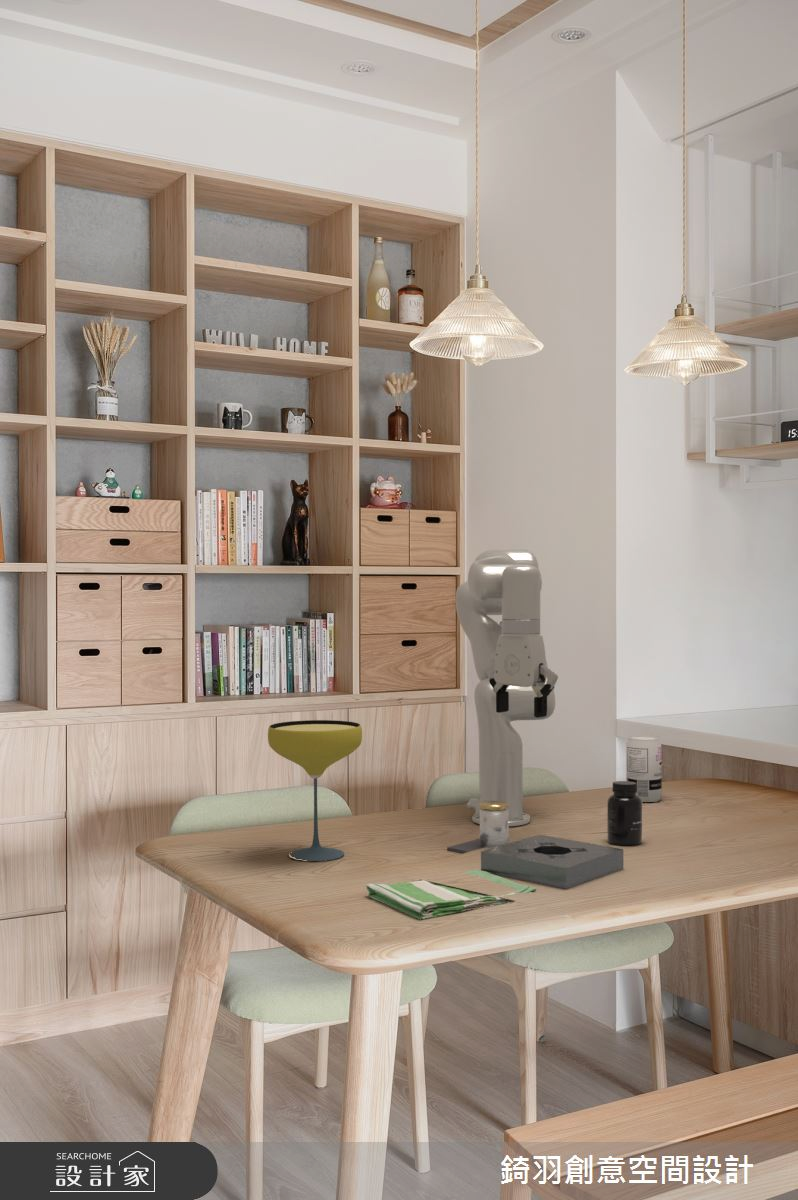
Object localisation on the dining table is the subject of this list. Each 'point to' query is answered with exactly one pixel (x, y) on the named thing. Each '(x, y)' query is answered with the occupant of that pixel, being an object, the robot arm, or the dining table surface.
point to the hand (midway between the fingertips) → (521, 714)
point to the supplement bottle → (624, 815)
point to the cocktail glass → (315, 761)
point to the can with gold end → (494, 824)
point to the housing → (552, 861)
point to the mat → (465, 846)
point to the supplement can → (645, 766)
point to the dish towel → (440, 896)
